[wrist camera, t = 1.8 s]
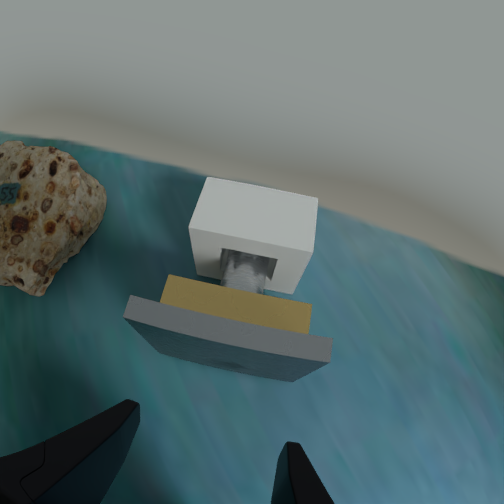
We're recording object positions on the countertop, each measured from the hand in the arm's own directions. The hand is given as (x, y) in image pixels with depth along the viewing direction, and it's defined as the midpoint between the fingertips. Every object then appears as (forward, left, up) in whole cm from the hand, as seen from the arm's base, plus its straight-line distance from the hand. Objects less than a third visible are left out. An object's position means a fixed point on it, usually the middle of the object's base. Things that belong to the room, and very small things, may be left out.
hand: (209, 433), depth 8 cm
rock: (-19, +20, -14) cm, 31 cm away
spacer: (+2, +7, -14) cm, 15 cm away
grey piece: (+3, +8, -13) cm, 16 cm away
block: (+5, +13, -14) cm, 19 cm away
